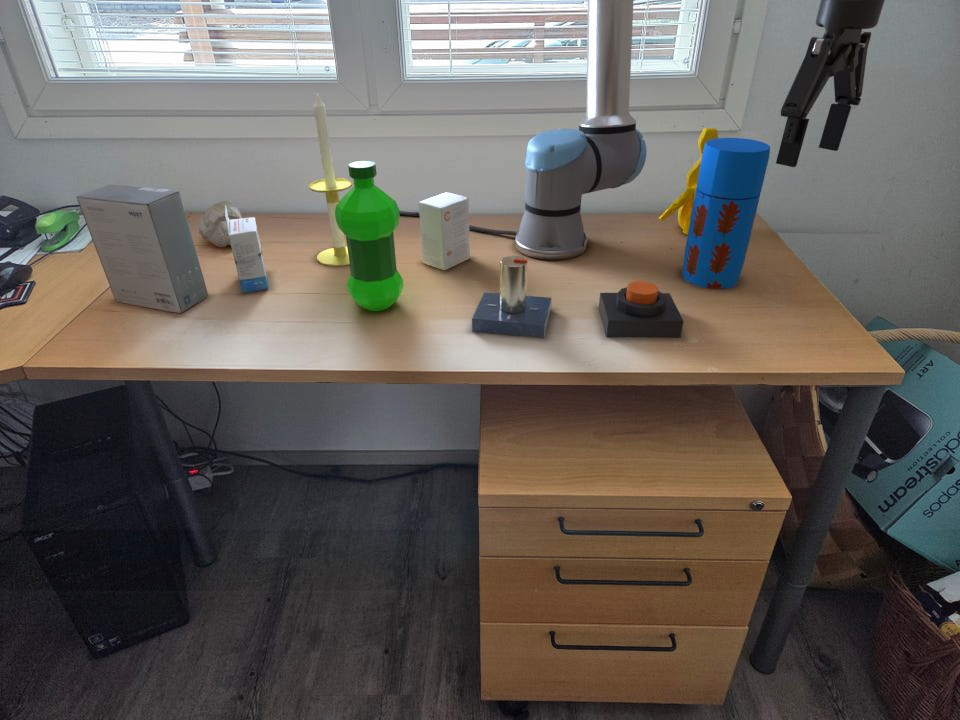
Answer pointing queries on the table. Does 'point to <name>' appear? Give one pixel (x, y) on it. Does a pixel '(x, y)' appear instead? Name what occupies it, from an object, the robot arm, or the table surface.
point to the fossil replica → (218, 223)
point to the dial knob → (513, 284)
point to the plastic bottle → (370, 239)
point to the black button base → (639, 316)
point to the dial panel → (512, 317)
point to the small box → (445, 230)
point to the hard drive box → (144, 246)
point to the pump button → (642, 292)
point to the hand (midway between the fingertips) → (807, 156)
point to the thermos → (724, 211)
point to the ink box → (247, 253)
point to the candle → (329, 191)
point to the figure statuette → (690, 186)
